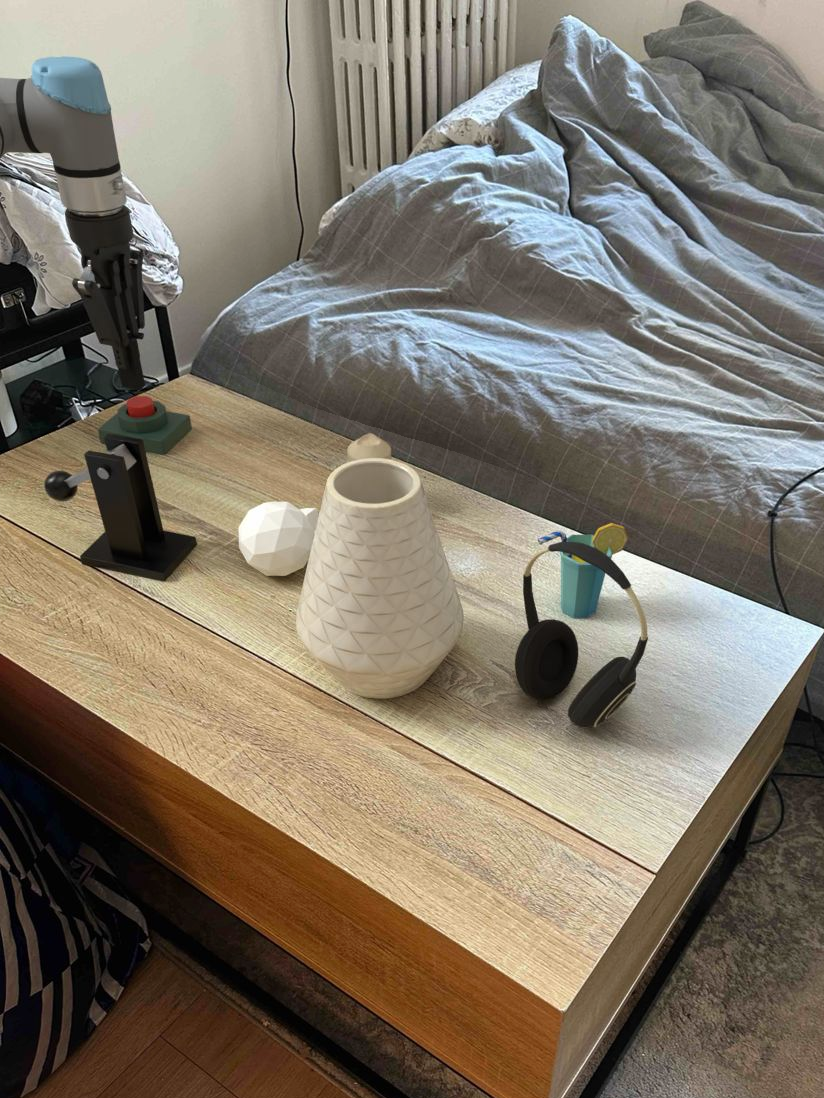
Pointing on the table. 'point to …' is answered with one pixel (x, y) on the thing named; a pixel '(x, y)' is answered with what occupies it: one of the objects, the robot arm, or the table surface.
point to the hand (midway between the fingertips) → (133, 386)
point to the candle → (368, 448)
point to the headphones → (574, 650)
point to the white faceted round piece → (277, 537)
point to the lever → (78, 477)
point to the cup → (585, 569)
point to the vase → (378, 583)
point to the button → (140, 406)
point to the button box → (149, 428)
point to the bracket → (131, 516)
